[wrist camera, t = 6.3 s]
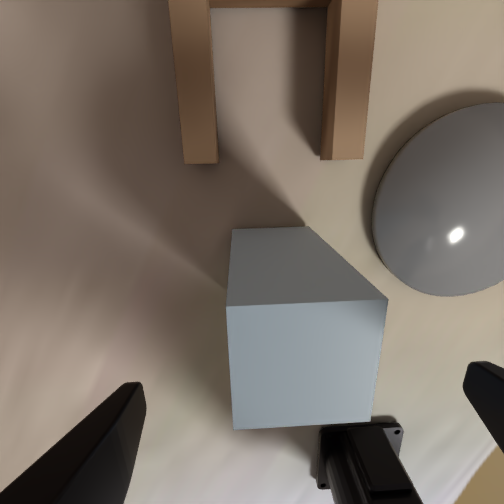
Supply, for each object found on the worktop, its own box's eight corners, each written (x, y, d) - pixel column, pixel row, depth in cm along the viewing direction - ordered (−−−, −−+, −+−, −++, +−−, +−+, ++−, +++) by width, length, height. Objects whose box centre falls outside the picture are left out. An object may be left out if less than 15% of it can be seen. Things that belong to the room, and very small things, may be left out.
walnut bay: (347, 159, 15) (362, 159, 13) (191, 163, 15) (184, 164, 13) (362, -34, 12) (384, -70, 10) (173, -34, 12) (161, -71, 10)
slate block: (305, 294, 18) (370, 421, 9) (235, 298, 17) (233, 430, 9) (308, 226, 16) (388, 299, 8) (232, 229, 16) (225, 306, 7)
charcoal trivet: (525, 288, 18) (534, 292, 18) (362, 296, 18) (366, 300, 17) (584, 102, 15) (599, 100, 14) (384, 106, 14) (390, 104, 14)
